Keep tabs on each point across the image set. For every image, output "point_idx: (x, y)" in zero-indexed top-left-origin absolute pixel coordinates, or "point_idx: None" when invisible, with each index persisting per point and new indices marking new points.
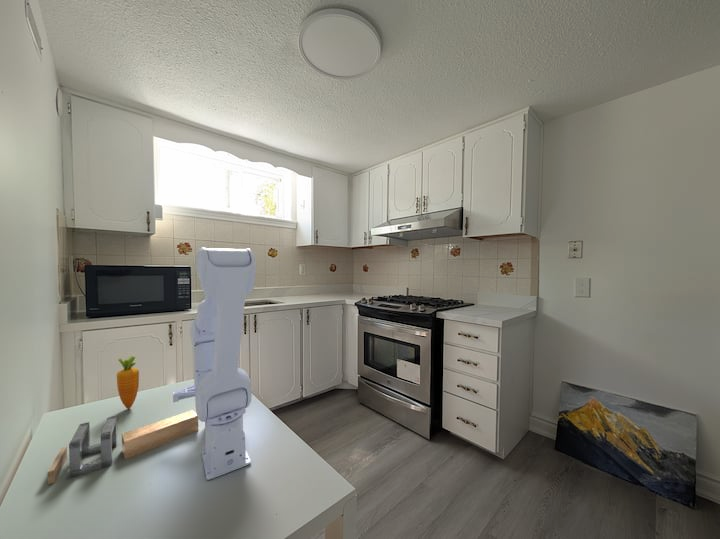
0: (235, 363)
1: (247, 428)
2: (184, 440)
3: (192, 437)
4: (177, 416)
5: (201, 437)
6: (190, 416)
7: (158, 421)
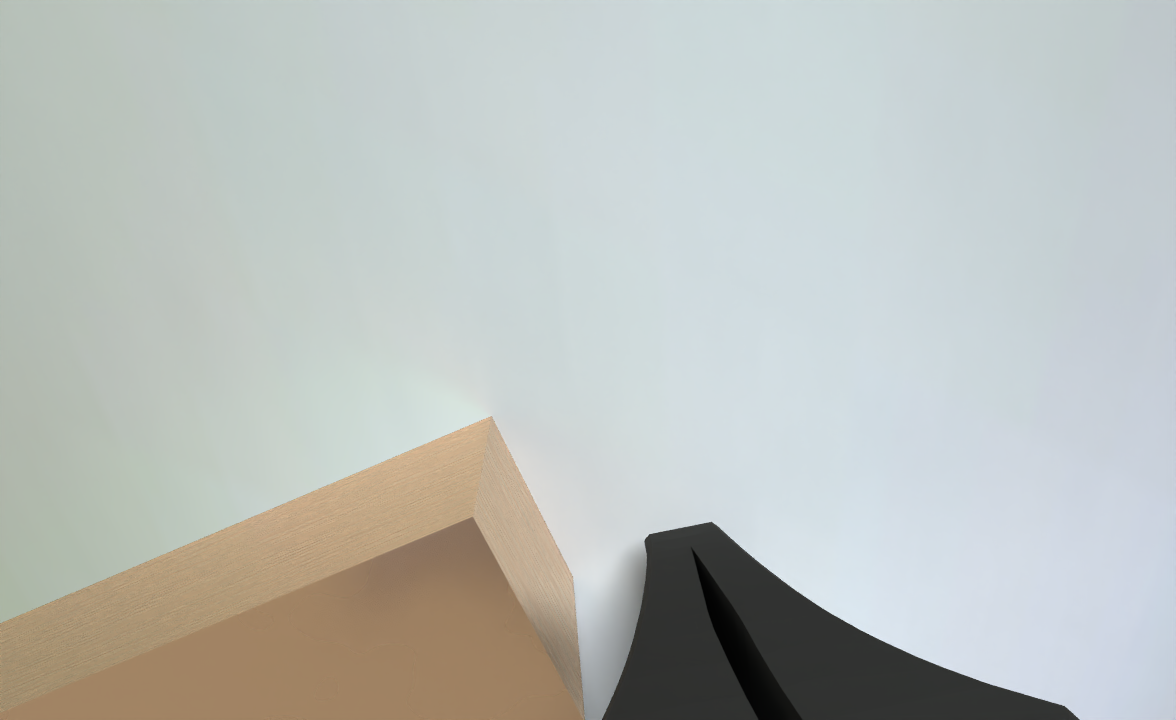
0: None
1: None
2: None
3: None
4: (270, 657)
5: None
6: (478, 715)
7: (9, 706)
